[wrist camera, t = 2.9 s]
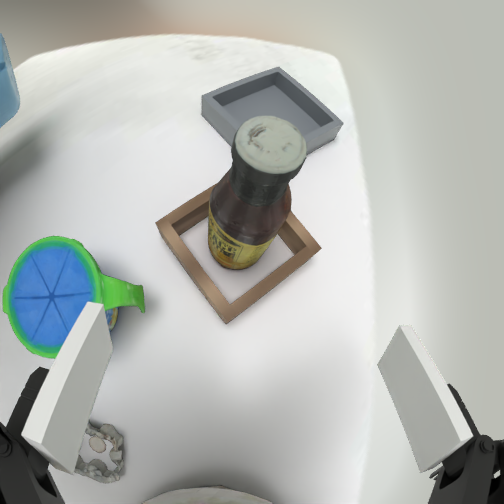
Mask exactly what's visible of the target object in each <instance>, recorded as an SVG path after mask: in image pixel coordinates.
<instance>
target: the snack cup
mask: <svg viewBox="0 0 504 504" xmlns="http://www.w3.org/2000/svg"><path fill="white" fill-rule="evenodd" d="M87 302H93V303H99V304H104V309H105V314H106V319H107V324H108V328H109V333H110V332H111V331H112V329H113V327H114V325H115V323H116V320H117V315H118V307H119V306H138V307H139V309H140V310H141V312H142V313H144V312H145V303H144V293H143V286H142V285H139V286H138V285H133V284H131V283H128V282H126V281H121V280H119V279H115V278H112V277H109V276H106V275H103V274H102V273H101V271H100V268H99V266H98V265H97V263H96V261H95V259H94V258H93V257H92V255H91V254H90V253H89V252H88V251H87V250H86V249H85V248H84V247H83V244H82V243H80V242H79V241H77V240H75V239H68V238H65V237H60V236H50V237H46V238H43V239H40V240H38V241H36V242H34V243H33V244H31V245H30V246H29V247H28V248H27V249H26V250H24V251H23V253H22V254H21V255H20V256H19V258H18V259H17V261H16V262H15V264H14V266H13V268H12V270H11V273H10V276H9V279H8V284H7V285H6V287H5V288H4V290H3V312H4V313H6V314H8V318H9V321H10V324H11V326H12V329H13V331H14V333H15V335H16V336H17V338H18V339H19V340H20V342H21V343H22V344H23V345H24V346H25V347H26V349H27V350H29V351H30V352H32V353H33V354H37V355H39V356H42V357H46V358H54V359H56V357H57V355H58V353H59V351H60V349H61V347H62V346H63V344H64V342H65V340H66V338H67V336H68V335H69V333H70V331H71V329H72V327H73V326H74V324H75V322H76V320H77V319H78V317H79V315H80V314H81V312H82V310H83V309H84V307H85V305H86V304H87Z"/></svg>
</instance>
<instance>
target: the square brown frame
mask: <svg viewBox="0 0 504 504" xmlns="http://www.w3.org/2000/svg"><path fill="white" fill-rule="evenodd" d="M217 184H218V183H217ZM217 184H215V185H213V186H212V187H210V188H208V189H207V190H205V191H204V192H202V193H200V194H199V195H197V196H196V197H194V198H192V199H191V200H189V201H188V202H186V203H185V204H183V205H181V206H180V207H178V208H177V209H175V210H174V211H172V212H171V213H169V214H168V215H166V216H165V217H163V218H162V219H160V220H159V221H157V222H156V225H157V228H158V230H159V232H160V234H161V236H162V238H163V239H164V241H165V242H166V244H167V245H168V247H169V248H170V249H171V251H172V252H173V254H174V255H175V256H176V258H177V259H178V261H179V262H180V264H181V265H182V266H183V268H184V269H185V271H186V272H187V273H188V275H189V276H190V277H191V279H192V280H193V282H194V283H195V284H196V286H197V287H198V288H199V290H200V291H201V292H202V294H203V295H204V296H205V298H206V299H207V300H208V302H209V303H210V304H211V306H212V307H213V308H214V310H215V311H216V312H217V314H218V315H219V316H220V317H221V319H222V320H223V321H224V323H225V324H227V323H228V322H230V321H231V320H232V319H234V318H235V317H236V316H238V315H239V314H240V313H242V312H243V311H244V310H245V309H247V308H248V307H249V306H251V305H252V304H253V303H255V302H256V301H257V300H258V299H260V298H261V297H262V296H264V295H265V294H266V293H267V292H269V291H270V290H271V289H273V288H274V287H275V286H276V285H278V284H279V283H280V282H281V281H283V280H284V279H285V278H286V277H288V276H289V275H290V274H291V273H293V272H294V271H295V270H296V269H298V268H299V267H300V266H301V265H303V264H304V263H305V262H306V261H308V260H309V259H310V258H311V257H312V256H314V255H315V254H316V253H317V252H318V251H319V250H320V249H322V248H321V247H320V246H319V244H318V243H317V242H316V241H315V239H314V238H313V237H312V236H311V235H310V233H309V232H308V231H307V230H306V229H305V227H304V226H303V225H302V224H301V223H300V221H299V220H298V219H297V218H296V217H295V215H294V214H293V213H292V212H291V211H290V212H289V215H288V217H287V219H286V221H285V222H284V224H283V225H282V227H281V229H280V231H279V232H278V235H279V236H280V237H281V238H282V239H283V241H284V242H285V243H286V244H287V246H288V247H289V248H290V249H291V251H292V252H293V253H294V254H295V255H294V256H293V257H292V258H291V259H289V260H288V261H287V262H285V263H284V264H283V265H282V266H280V267H279V268H278V269H276V270H275V271H274V272H272V273H271V274H270V275H269V276H267V277H266V278H265V279H263V280H262V281H261V282H259V283H258V284H257V285H255V286H254V287H253V288H252V289H250V290H249V291H248V292H246V293H245V294H244V295H242V296H241V297H240V298H238V299H237V300H236V301H234V302H233V303H232V304H229V303H228V301H227V300H226V299H225V298H224V296H223V295H222V294H221V292H220V291H219V290H218V288H217V287H216V286H215V284H214V283H213V282H212V280H211V279H210V278H209V276H208V275H207V274H206V272H205V271H204V270H203V268H202V267H201V266H200V264H199V263H198V262H197V260H196V259H195V258H194V256H193V255H192V253H191V252H190V251H189V249H188V248H187V247H186V245H185V244H184V242H183V241H182V240H181V238H180V237H179V235H181V234H182V233H184V232H185V231H187V230H188V229H189V228H191V227H192V226H194V225H195V224H197V223H198V222H200V221H201V220H203V219H205V218H206V217H208V216H209V200H210V194H211V192H212V190H213V188H214V187H215V186H216V185H217Z"/></svg>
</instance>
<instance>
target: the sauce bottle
mask: <svg viewBox="0 0 504 504" xmlns="http://www.w3.org/2000/svg"><path fill="white" fill-rule="evenodd" d="M231 153H232V159H233V162H232V167H231V168H230V170H229V171H228V172H227V173H226V174H225V175H224V177H223V178H222V179H221V180H220V181H219V182H218V184H217V185H216V186H215V187H214V188H213V190H212V192H211V194H210V200H209V216H208V217H209V218H208V221H209V222H208V245H209V249H210V251H211V254H212V256H213V257H214V258H215V259H216V261H217V262H218V263H220V264H221V265H222V266H223V267H225V268H230V269H245V268H247V267H249V266H251V265H253V264H254V263H256V262H257V261H258V260H259V258H260V257H261V256H262V254H263V253H264V252H265V250H266V249H267V248H268V246H269V245H270V244H271V242H272V241H273V239H274V238H275V237H276V235H277V234H278V232H279V231H280V229H281V227H282V225H283V224H284V222H285V221H286V219H287V217H288V215H289V212H290V211H291V191H290V187H289V184H288V183H289V181H290V180H291V179H293V178H294V177H295V176H296V175H297V174H298V172H299V171H300V169H301V167H302V165H303V163H304V161H305V159H306V155H307V145H306V141H305V139H304V137H303V136H302V134H301V133H300V131H299V130H298V129H297V128H296V127H295V126H294V125H293V124H291V123H290V122H288V121H286V120H283V119H280V118H278V117H275V116H256V117H254V118H251V119H248V120H247V121H245V122H244V123H243V124H242V125H241V126H240V127H239V128H238V130H237V132H236V134H235V135H234V140H233V143H232V148H231Z"/></svg>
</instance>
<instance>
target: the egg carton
mask: <svg viewBox="0 0 504 504" xmlns="http://www.w3.org/2000/svg"><path fill="white" fill-rule="evenodd" d="M85 433H86V434H90V436H93V437H91V438H90V440H89V444H90V447H91V448H92V449H93V450H94V451H96V452H98V453H102V452H104V451H105V450H106V444H105V443H104V441H103V440H102V439H105V440H109V441H110V442H112V444H113V446H114V447H113V448H112V450H111V451H110V458H111V460H112V461H113V462H114V463H115V464H116V465H117V466H118V467H117V468H116V469H115V470H114V471H111V470H108V469H107V466H106V464H105V463H104V462H102V461H101V460H98V459H94V460H92V461H91V462H90V463H89V464H87V463H84V462H83V460H82V458H81V456H80V455H78V459H77V462H76V466H75V470H74V472H75V473H78V474H81V475H83V476H87V477H89V478H92V479H94V480H96V481H98V482H101V483H112V482H115V481H119V479H120V477H119V475H118V473H119V471H120V470H121V469H122V467H123V462H124V460H123V459H122V458H121V456H122V450H120V451H118V448H119V446H120V445H121V444H122V443H123V436H122V435H120V434H118V433H117V432H116V431H115V429H114V426H112V425H110V424H103V426H101V428H100V429H96V428H94V427H93V426H92V425H91V424H90V423H89V421H88V424H87V427H86V430H85ZM95 435H96V436H97V437H94V436H95Z"/></svg>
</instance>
